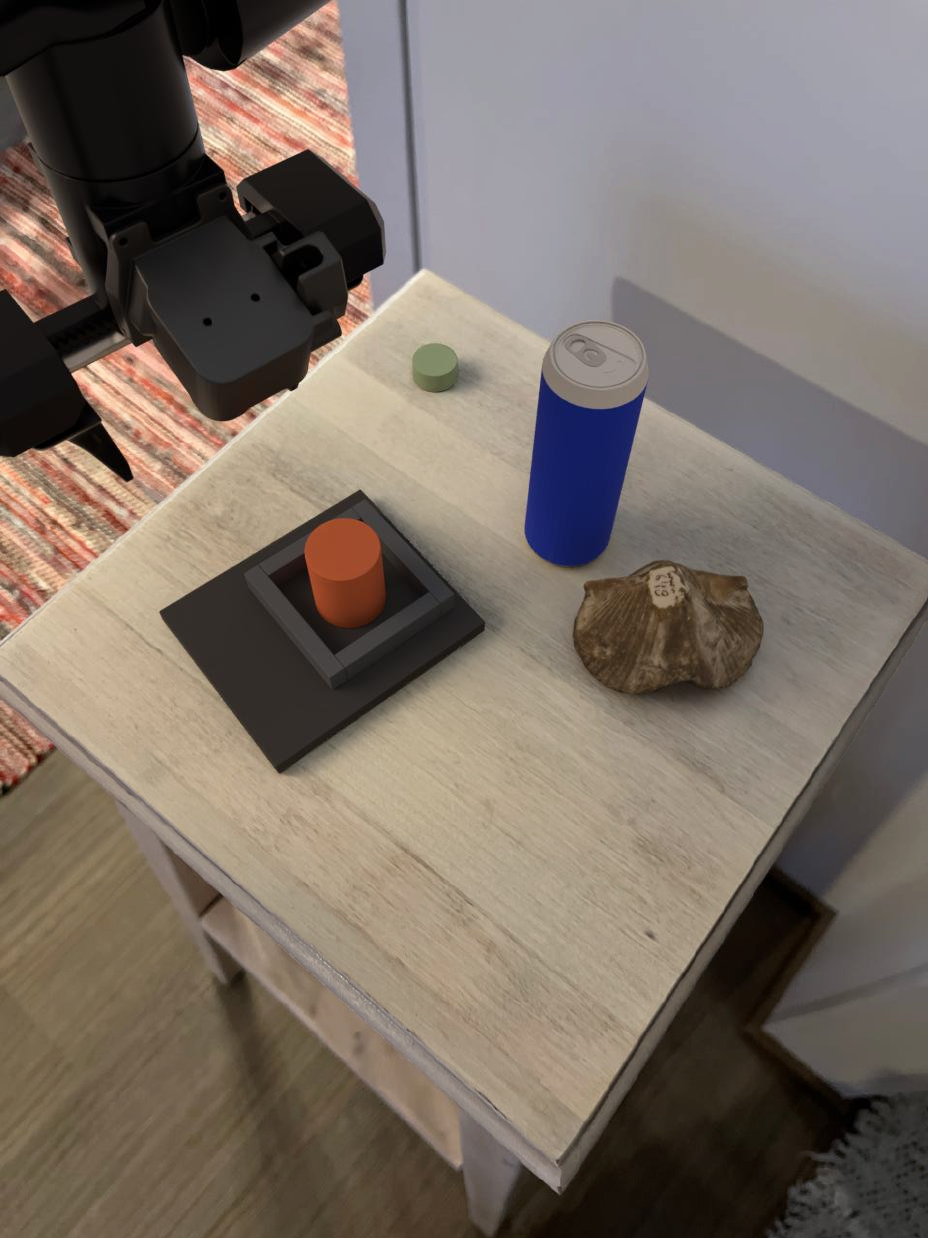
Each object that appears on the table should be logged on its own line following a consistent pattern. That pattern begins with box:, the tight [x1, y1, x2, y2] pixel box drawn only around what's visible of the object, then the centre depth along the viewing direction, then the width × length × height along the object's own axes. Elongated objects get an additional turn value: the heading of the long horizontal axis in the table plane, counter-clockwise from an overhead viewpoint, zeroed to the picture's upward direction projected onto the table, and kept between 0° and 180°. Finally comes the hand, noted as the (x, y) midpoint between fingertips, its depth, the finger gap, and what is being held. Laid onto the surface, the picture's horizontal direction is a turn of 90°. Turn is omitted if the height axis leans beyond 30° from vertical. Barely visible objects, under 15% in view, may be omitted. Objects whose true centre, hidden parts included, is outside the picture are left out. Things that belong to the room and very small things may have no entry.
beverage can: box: [523, 319, 650, 567], centre depth 53 cm, size 5×5×15 cm
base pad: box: [158, 489, 486, 774], centre depth 56 cm, size 14×12×2 cm
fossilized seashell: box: [571, 559, 765, 696], centre depth 54 cm, size 8×7×10 cm
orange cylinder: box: [305, 518, 386, 628], centre depth 54 cm, size 4×4×5 cm
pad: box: [411, 342, 459, 393], centre depth 66 cm, size 3×3×2 cm
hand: (209, 429), depth 48 cm, fingers open, 9 cm apart
